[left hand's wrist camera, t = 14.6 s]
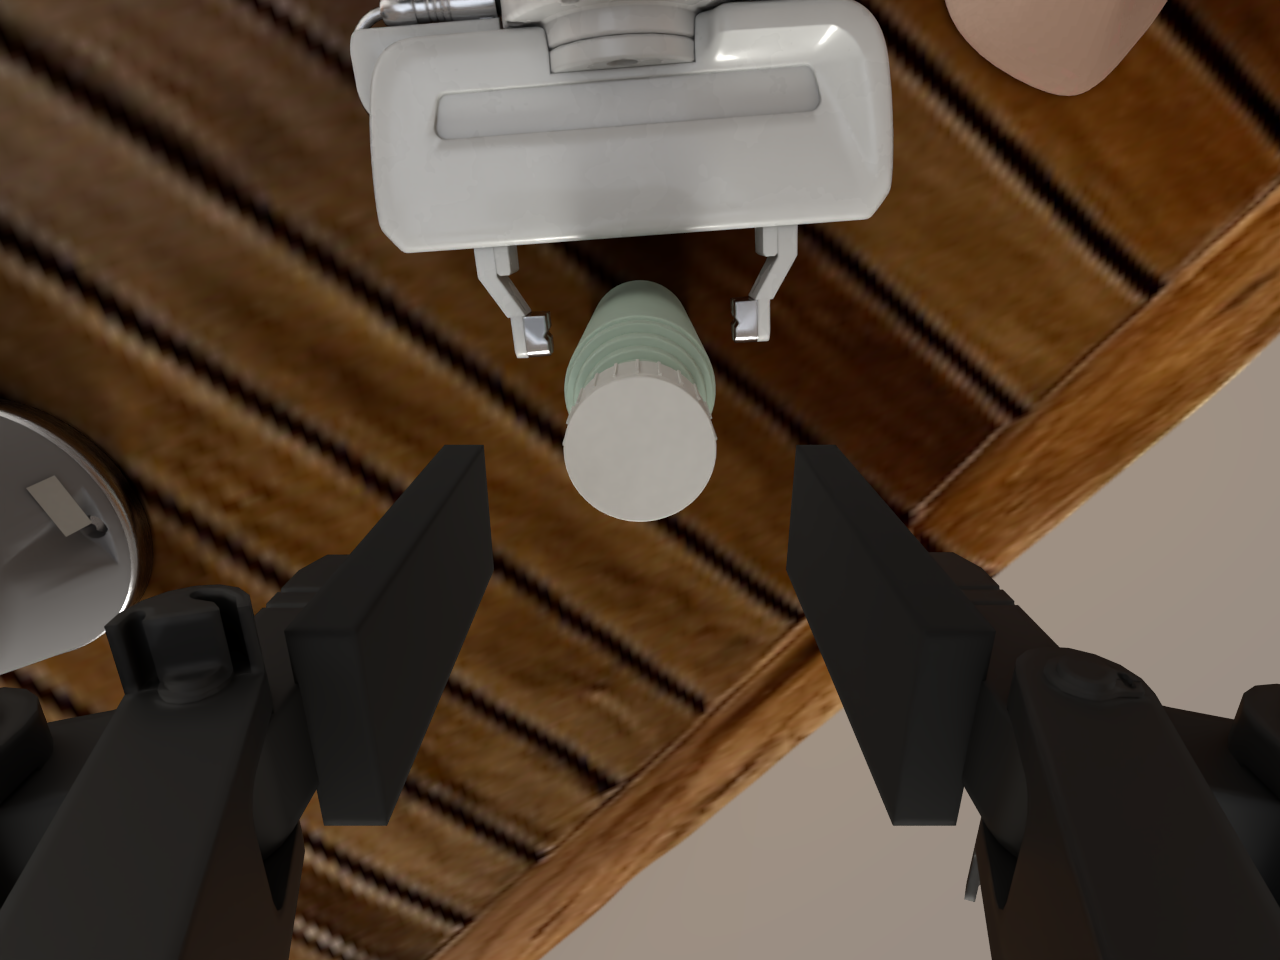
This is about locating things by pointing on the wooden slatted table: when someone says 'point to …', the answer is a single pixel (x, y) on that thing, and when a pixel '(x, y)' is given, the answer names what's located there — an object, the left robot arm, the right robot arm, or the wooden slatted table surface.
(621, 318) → the bottle
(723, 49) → the right robot arm
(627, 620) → the wooden slatted table surface
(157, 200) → the wooden slatted table surface
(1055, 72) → the anatomical model
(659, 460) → the cap
